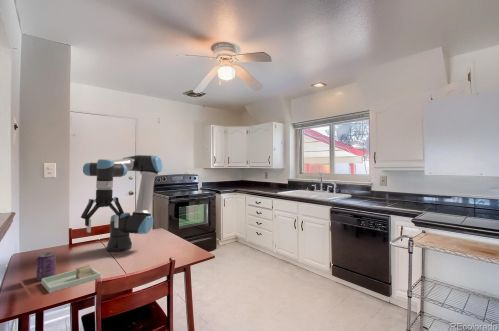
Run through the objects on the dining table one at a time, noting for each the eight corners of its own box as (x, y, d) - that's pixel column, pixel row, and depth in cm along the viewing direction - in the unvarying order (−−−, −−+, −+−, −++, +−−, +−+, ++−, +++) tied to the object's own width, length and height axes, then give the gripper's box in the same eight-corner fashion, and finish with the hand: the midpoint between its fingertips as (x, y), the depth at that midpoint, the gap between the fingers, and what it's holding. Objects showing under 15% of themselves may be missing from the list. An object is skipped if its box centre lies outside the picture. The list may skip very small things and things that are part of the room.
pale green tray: (41, 285, 117) (41, 278, 117) (89, 272, 133) (90, 266, 133) (49, 295, 109) (49, 287, 109) (100, 279, 125) (100, 273, 125)
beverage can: (43, 276, 127) (44, 251, 127) (58, 275, 127) (59, 251, 127) (32, 282, 120) (33, 257, 120) (48, 282, 120) (49, 257, 120)
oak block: (75, 277, 124) (76, 267, 124) (87, 274, 128) (87, 264, 128) (79, 280, 121) (79, 270, 121) (91, 277, 125) (91, 267, 125)
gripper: (80, 190, 121) (78, 235, 121) (131, 188, 141) (130, 226, 141) (74, 189, 125) (72, 232, 125) (124, 187, 145) (123, 224, 145)
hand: (103, 229), depth 133 cm, fingers open, 13 cm apart
